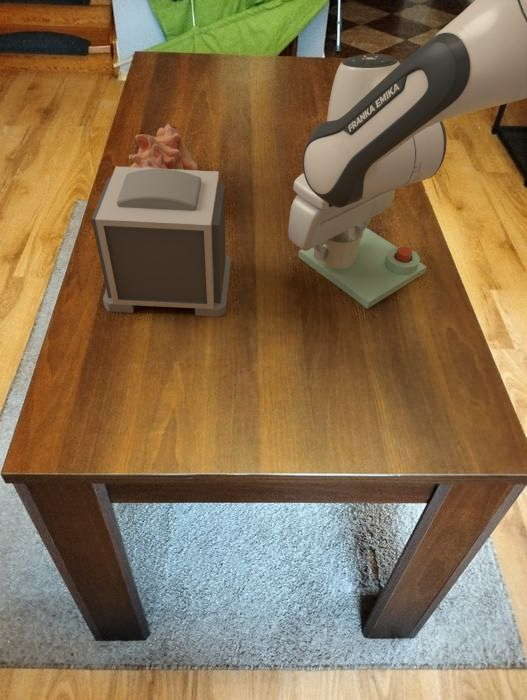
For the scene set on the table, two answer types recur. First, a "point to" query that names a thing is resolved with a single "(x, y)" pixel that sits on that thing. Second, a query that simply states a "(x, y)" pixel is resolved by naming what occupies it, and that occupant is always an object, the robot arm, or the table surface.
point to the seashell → (163, 151)
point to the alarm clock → (163, 240)
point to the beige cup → (343, 249)
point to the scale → (370, 270)
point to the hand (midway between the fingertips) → (337, 248)
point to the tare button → (403, 254)
